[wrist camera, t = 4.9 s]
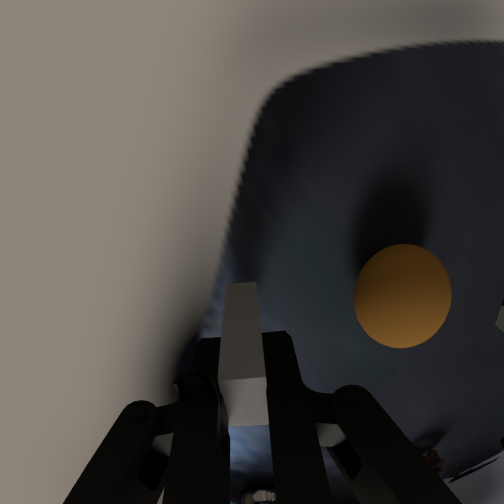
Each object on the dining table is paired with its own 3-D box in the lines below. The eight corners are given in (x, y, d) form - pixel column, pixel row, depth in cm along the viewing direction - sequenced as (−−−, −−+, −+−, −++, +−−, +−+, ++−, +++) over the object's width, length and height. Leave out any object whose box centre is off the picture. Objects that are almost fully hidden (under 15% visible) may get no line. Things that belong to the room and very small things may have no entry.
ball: (423, 227, 15) (481, 263, 10) (411, 305, 17) (453, 354, 12) (342, 234, 15) (387, 278, 10) (338, 318, 17) (368, 379, 12)
